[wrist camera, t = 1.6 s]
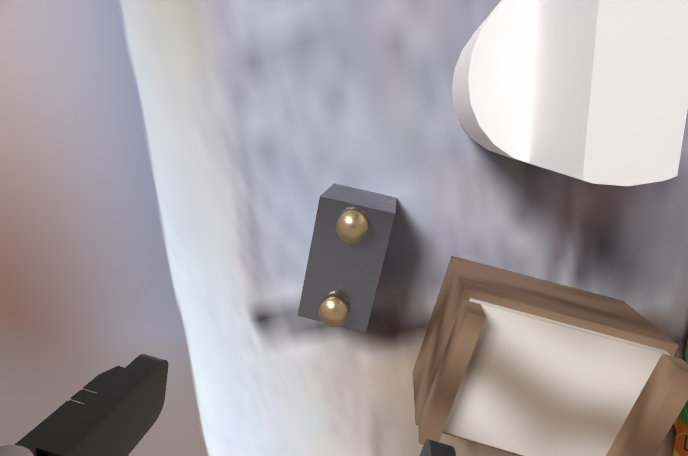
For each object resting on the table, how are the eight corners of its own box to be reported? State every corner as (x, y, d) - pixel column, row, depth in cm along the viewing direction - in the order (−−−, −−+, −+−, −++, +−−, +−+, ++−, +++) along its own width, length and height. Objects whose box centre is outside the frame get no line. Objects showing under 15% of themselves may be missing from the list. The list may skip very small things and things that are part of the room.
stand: (451, 256, 27) (470, 303, 20) (623, 301, 26) (706, 367, 19) (412, 372, 30) (416, 449, 23) (566, 416, 29) (620, 511, 22)
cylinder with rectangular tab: (598, 153, 24) (776, 180, 13) (451, 160, 26) (493, 191, 14) (614, -7, 22) (849, -148, 10) (452, 11, 23) (503, -97, 12)
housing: (334, 183, 27) (317, 198, 22) (396, 197, 27) (395, 217, 21) (314, 284, 30) (294, 321, 24) (371, 298, 29) (364, 339, 24)
